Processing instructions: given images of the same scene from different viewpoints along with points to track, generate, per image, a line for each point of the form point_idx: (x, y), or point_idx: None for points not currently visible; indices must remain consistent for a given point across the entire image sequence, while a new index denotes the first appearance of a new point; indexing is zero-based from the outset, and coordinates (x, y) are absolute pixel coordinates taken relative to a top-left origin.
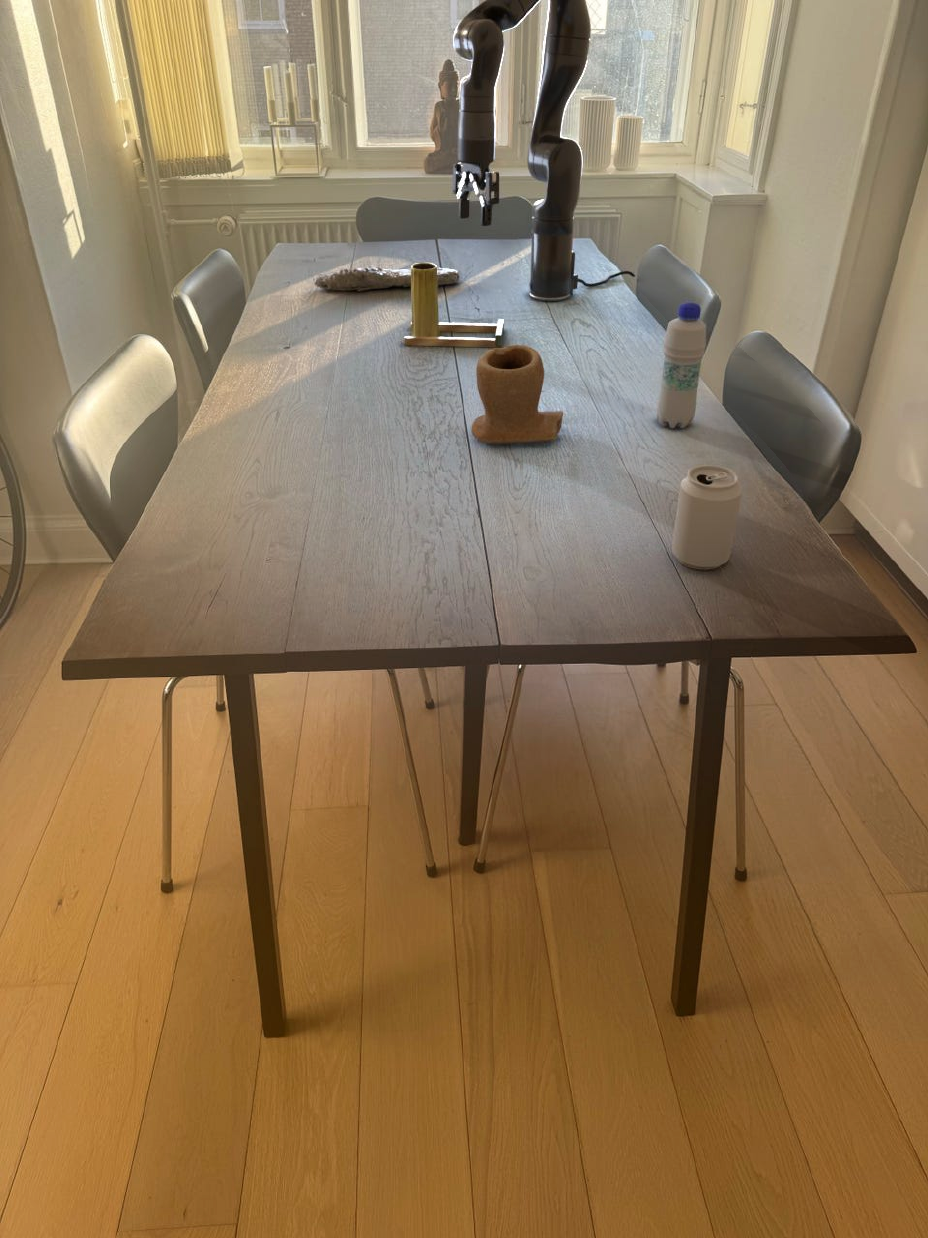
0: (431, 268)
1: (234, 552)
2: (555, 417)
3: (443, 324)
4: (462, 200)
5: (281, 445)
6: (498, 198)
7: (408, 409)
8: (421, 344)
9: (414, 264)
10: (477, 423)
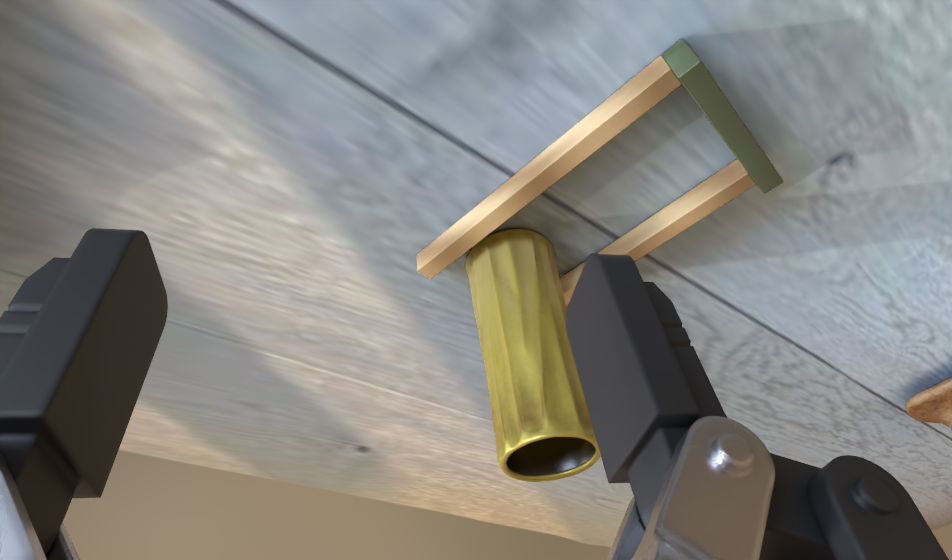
0: (543, 420)
1: None
2: None
3: (511, 216)
4: (99, 475)
5: None
6: (923, 537)
7: (756, 418)
8: None
9: (507, 468)
10: (923, 417)
